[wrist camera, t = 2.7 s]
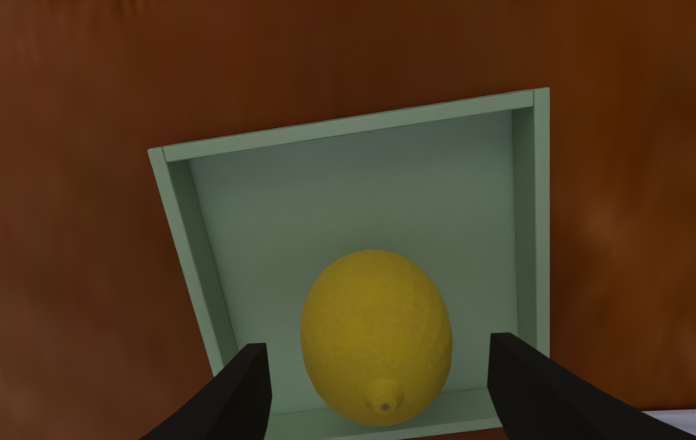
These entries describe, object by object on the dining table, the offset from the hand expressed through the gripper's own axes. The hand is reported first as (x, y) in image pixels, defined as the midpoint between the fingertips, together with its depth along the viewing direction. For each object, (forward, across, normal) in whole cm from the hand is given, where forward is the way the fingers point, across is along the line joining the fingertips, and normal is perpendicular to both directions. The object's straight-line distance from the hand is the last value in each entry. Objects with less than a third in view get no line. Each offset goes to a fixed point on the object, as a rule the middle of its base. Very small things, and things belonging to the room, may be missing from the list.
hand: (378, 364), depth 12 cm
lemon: (+6, 0, 0) cm, 6 cm away
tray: (+7, 0, 0) cm, 7 cm away
